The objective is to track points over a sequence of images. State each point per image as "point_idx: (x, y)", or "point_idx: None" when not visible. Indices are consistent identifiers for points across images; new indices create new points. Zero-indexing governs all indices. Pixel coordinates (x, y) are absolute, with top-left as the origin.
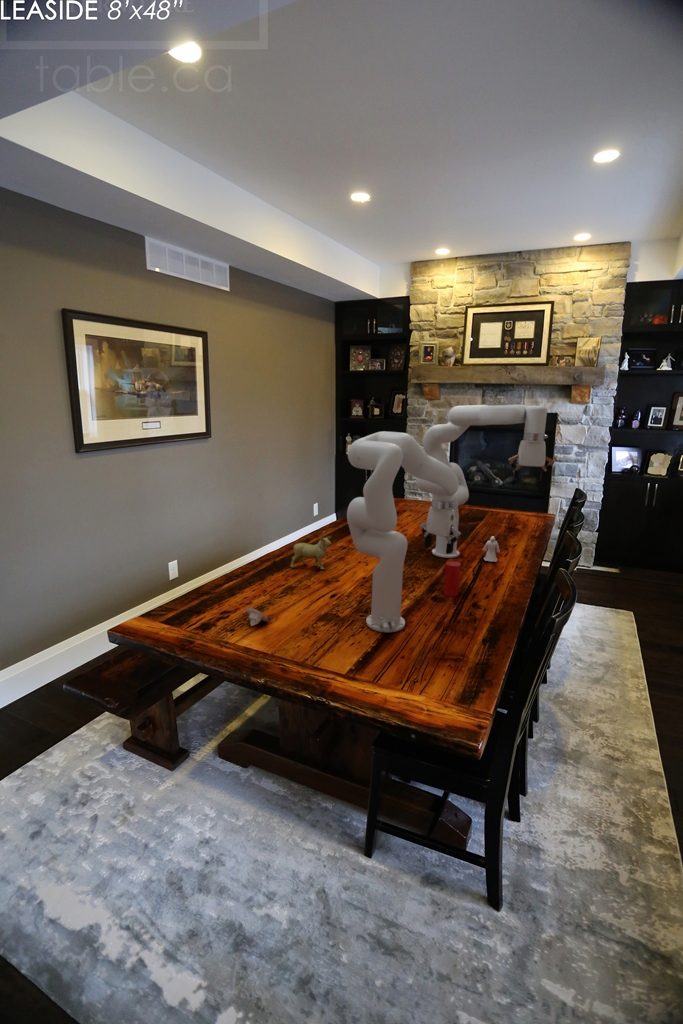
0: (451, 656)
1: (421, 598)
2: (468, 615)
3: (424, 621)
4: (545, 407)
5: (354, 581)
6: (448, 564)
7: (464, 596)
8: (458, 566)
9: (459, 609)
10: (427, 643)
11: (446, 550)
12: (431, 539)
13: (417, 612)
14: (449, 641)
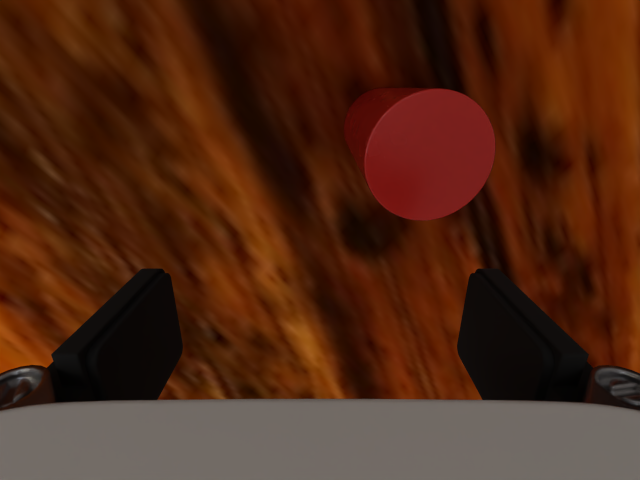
0: None
1: (318, 274)
2: (549, 261)
3: (441, 395)
4: None
5: (21, 346)
6: (410, 212)
7: None
8: (488, 166)
9: (496, 243)
10: None
11: (478, 379)
12: (124, 328)
13: (386, 368)
14: None
